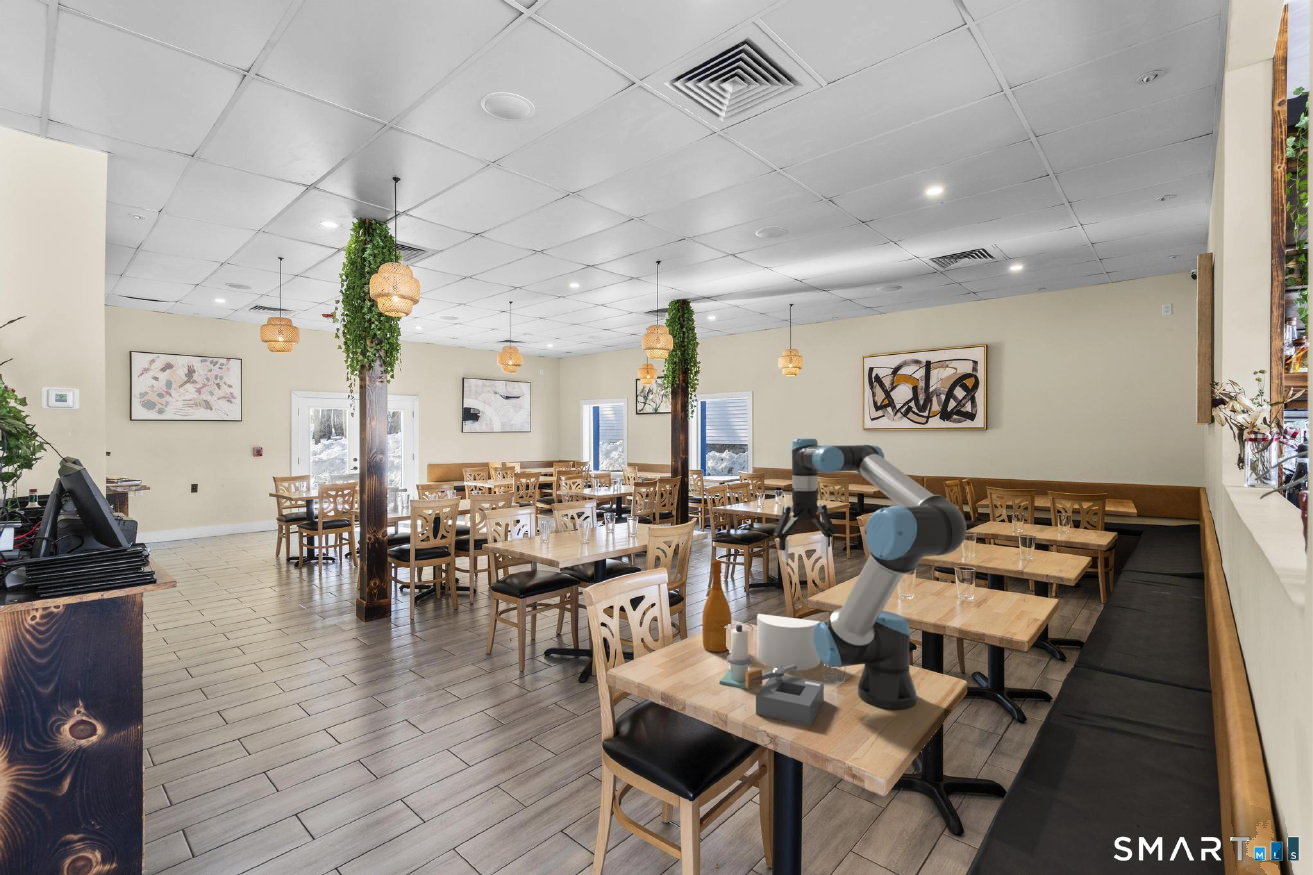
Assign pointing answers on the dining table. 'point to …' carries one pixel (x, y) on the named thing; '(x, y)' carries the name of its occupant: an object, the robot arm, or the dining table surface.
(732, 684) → the pad
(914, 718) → the dining table surface
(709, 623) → the wine bottle
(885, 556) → the robot arm
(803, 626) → the container
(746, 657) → the plug
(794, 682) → the socket block
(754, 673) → the clip lever
